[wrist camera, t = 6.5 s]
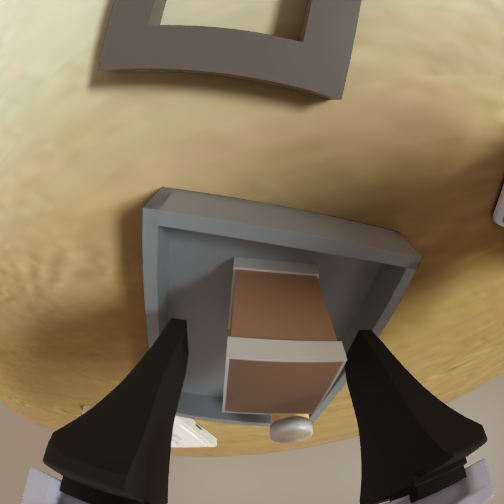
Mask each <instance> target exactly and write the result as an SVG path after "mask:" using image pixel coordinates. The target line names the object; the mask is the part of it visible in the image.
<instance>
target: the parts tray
mask: <svg viewBox="0 0 504 504" xmlns="http://www.w3.org/2000/svg"><path fill="white" fill-rule="evenodd" d="M142 250H143V283H144V300H145V314H146V326H147V336H148V346H149V349H150V348H151V346H152V345H153V344H154V342H155V341H156V339H157V338H158V337H159V335H160V334H161V332H162V331H163V329H164V328H165V326H166V324H167V323H168V321H169V320H170V319H171V318H175V319H183V320H187V334H188V348H189V355H188V362H187V369H186V375H185V379H184V383H183V387H182V391H181V395H180V399H179V403H178V407H177V411H176V415H175V416H179V417H185V418H191V419H197V420H204V421H212V422H220V423H230V424H241V425H255V426H270V425H271V414H242V413H227V412H222V405H223V390H224V377H225V364H226V351H227V339H228V336H229V337H230V329H228V323H229V311H230V299H231V288H232V277H233V266H234V257H241V258H252V259H263V260H274V261H285V262H296V263H307V264H316V266H317V269H318V272H319V277H318V281H319V284H320V288H321V291H322V294H323V297H324V300H325V303H326V306H327V309H328V312H329V315H330V319H331V322H332V325H333V328H334V332H335V335H336V338H337V341H342V344H343V347H344V350H345V353H346V354H347V352H348V350H349V348H350V347H351V345H352V343H353V341H354V339H355V337H356V335H357V333H358V331H359V330H372V331H373V332H374V333H375V335H376V336H377V337H378V336H379V335H380V333H381V332H382V330H383V329H384V327H385V325H386V324H387V322H388V321H389V319H390V317H391V316H392V314H393V312H394V310H395V309H396V307H397V305H398V304H399V302H400V300H401V298H402V297H403V295H404V293H405V291H406V289H407V287H408V286H409V284H410V282H411V280H412V278H413V276H414V274H415V272H416V270H417V268H418V266H419V264H420V262H421V260H422V257H421V255H420V254H419V253H418V252H417V251H416V250H415V249H414V248H413V246H412V245H411V244H410V243H409V242H408V241H407V240H406V239H405V238H404V237H403V236H402V235H401V234H400V233H399V232H396V231H392V230H388V229H384V228H380V227H376V226H372V225H367V224H363V223H359V222H354V221H350V220H345V219H341V218H336V217H332V216H327V215H323V214H318V213H313V212H308V211H303V210H298V209H293V208H288V207H283V206H277V205H272V204H267V203H261V202H256V201H250V200H244V199H238V198H232V197H226V196H220V195H214V194H207V193H201V192H194V191H187V190H180V189H173V188H165V187H162V188H161V189H160V190H159V191H158V192H157V193H156V194H155V195H154V196H153V197H152V198H151V199H150V200H149V201H148V203H147V204H146V205H145V206H144V207H143V222H142ZM346 382H347V380H346V373H345V366H344V367H343V369H342V370H341V372H340V374H339V375H338V377H337V379H336V381H335V382H334V384H333V386H332V387H331V389H330V391H329V392H328V394H327V395H326V397H325V399H324V400H323V402H322V403H321V405H320V406H319V408H318V409H317V411H316V413H315V414H309V419H310V420H311V423H312V424H313V423H314V421H315V420H316V419H317V418H318V417H319V416H320V414H321V413H322V412H323V411H324V410H325V409H326V407H327V406H328V405H329V404H330V403H331V401H332V400H333V399H334V398H335V396H336V395H337V394H338V393H339V391H340V390H341V389H342V387H343V386H344V385H345V384H346Z"/></svg>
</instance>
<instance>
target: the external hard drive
mask: <svg viewBox="0 0 504 504" xmlns="http://www.w3.org/2000/svg"><path fill="white" fill-rule="evenodd" d="M92 407H94V406H85V405H84V407H83V410H82V413H83V414H84V413H85V412H87V411H88V410H90V409H91V408H92ZM215 446H217V439H216V438H215V437H213V436H212V435H211V434H210V433H208V432H207V431H206V430H205V429H203V428H202V427H200V426H199V425H198V424H197V423H196V422H195V421H194V420H193V419H191V418H185V417H179V416H175V420H174V425H173V432H172V441H171V447H215Z"/></svg>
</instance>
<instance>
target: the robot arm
mask: <svg viewBox="0 0 504 504" xmlns="http://www.w3.org/2000/svg"><path fill="white" fill-rule="evenodd" d="M493 221H494V222H495V223H497V224H498V225H500V226H502V227H504V185H503V188H502V191H501V194H500V197H499V200H498V203H497V205H496V208H495V211H494V213H493ZM188 355H189V348H188V334H187V320H183V319H175V318H171V319H170V320H169V321H168V323H167V324H166V326H165V328H164V329H163V331H162V332H161V334H160V335H159V337H158V338H157V339H156V341H155V342H154V344H153V345H152V346H151V348H150V349H149V350H148V352H147V353H146V354H145V356H144V357H143V358H142V359H141V360H140V362H139V363H138V364H137V365H136V366H135V367H134V369H133V370H132V371H131V372H130V373H129V374H128V375H127V376H126V378H125V379H124V380H123V381H122V382H121V383H120V384H119V385H118V386H117V387H116V388H115V389H114V390H112V391H111V392H110V393H109V394H108V395H107V396H106V397H105V398H103V399H102V400H101V401H100V402H99V403H97V404H96V405H95V406H94V407H92V408H91V409H90V410H88V411H87V412H85V413H84V414H83V415H81V416H80V417H78V418H77V419H75V420H74V421H72V422H71V423H69V424H67V425H65V426H64V427H62V428H60V429H59V430H57V431H55V432H54V433H53V434H52V437H51V439H50V440H49V443H48V445H47V448H46V452H45V455H44V458H43V462H44V463H45V464H46V465H47V466H48V467H50V468H51V469H53V470H55V471H56V472H58V473H60V474H61V475H63V479H62V481H61V480H59V479H57V478H55V477H53V476H51V475H49V474H47V473H45V472H43V471H41V470H39V469H38V468H36V467H34V466H31V468H30V472H29V475H28V478H27V482H26V486H25V490H24V494H23V498H22V503H21V504H167V503H168V498H167V497H168V474H169V461H170V450H171V441H172V432H173V425H174V420H175V415H176V411H177V407H178V403H179V399H180V395H181V391H182V387H183V383H184V379H185V375H186V369H187V362H188ZM346 357H347V361H346V363H345V365H344V366H345V373H346V380H347V384H348V388H349V392H350V395H351V399H352V403H353V407H354V410H355V414H356V418H357V423H358V428H359V436H360V445H361V462H362V480H361V494H360V504H379V503H383V502H386V501H389V500H390V502H387V503H384V504H484V503H486V502H487V501H488V500H490V499H491V498H492V497H493V496H494V495H495V493H494V489H493V485H492V482H491V478H490V475H489V471H488V468H487V465H486V462H485V459H481V460H480V461H478V462H476V463H474V464H473V465H471V466H469V467H467V468H466V469H464V464H466V463H467V461H466V456H468V455H469V454H471V453H472V452H474V451H475V450H477V449H478V448H479V447H481V446H482V445H483V444H485V443H486V441H487V437H486V434H485V431H484V429H483V427H482V425H481V424H478V423H476V422H474V421H472V420H470V419H468V418H466V417H464V416H463V415H461V414H459V413H458V412H456V411H454V410H453V409H451V408H450V407H448V406H447V405H446V404H444V403H443V402H441V401H440V400H439V399H437V398H436V397H435V396H434V395H432V394H431V393H430V392H429V391H428V390H427V389H426V388H424V387H423V386H422V385H421V384H420V383H419V382H418V381H417V380H416V379H415V378H414V377H413V376H412V375H411V374H410V373H409V372H408V371H407V370H406V369H405V368H404V367H403V365H402V364H401V363H400V362H399V361H398V360H397V359H396V358H395V356H394V355H393V354H392V353H391V352H390V351H389V350H388V348H387V347H386V346H385V345H384V344H383V343H382V341H381V340H380V339H379V338H378V337H377V336H376V335H375V333H374V332H373V331H372V330H359V331H358V333H357V335H356V337H355V339H354V341H353V343H352V345H351V347H350V348H349V350H348V352H347V354H346Z"/></svg>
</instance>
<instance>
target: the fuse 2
mask: <svg viewBox="0 0 504 504" xmlns="http://www.w3.org/2000/svg"><path fill="white" fill-rule="evenodd" d="M312 434H313V430H312V423H311V420H310V419H309V414H289V415H271V425H270V438H271V440H273V441H275V442H280V443H291V442H298V441H302V440H305V439H307V438H309V437H310V436H312Z"/></svg>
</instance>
